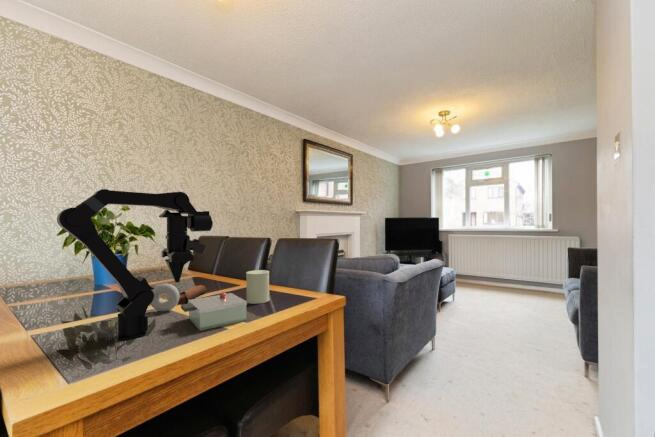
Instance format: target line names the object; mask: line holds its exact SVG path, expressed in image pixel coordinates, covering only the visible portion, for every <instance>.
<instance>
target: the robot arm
mask: <svg viewBox="0 0 655 437" xmlns="http://www.w3.org/2000/svg"><path fill="white" fill-rule="evenodd" d="M107 205H115V206H116V205H117V206H119V205H120V206H139V207H140V206H141V207H153V208H154V207H155V208H159V209H163V210H164V211H163V212H162V213H160V214H159V215H158V217H159V218H160V219H161V218H162V219H163V218H166V235H165V239H166V248H163V249H162V250H161V258H165V257H167V259H164V261H165V263H166V266H167V267H168V269H169V271H170V273H171V276H172V278H173V281H174V282H175V283H180V280H181V276H182V273H183V270H184V266H185V265H186V264H187V263H188V262H194V261H195V260H196V258H195V257H196V256H195V255H196V254H195V253H194V252H196V253H199V254H201V255H204V254H205V251H206V249H207V247H208V245H207V244H204V243H201V240H200V239H196V238H193V239H191V238H190V235H189V234H188V229H189V230H190V232H193V233H194V232H196V233H197V232H210V231H212V229H213V219H212V216H211V214H210V211H209V210H203V211H197V209H195V207H194V205H193V204H192V203H191V201H190V197H189V196H188V195H187V193H186V192H184V191H174V192H173V191H171V192H162V193H149V192H148V193H147V192H136V191H125V190H124V191H122V190H112V189H111V190H110V189H107V188H102V189H100V190H97V191H95V192H94V193H93V194H92V195H91V196H90V197H88V198H87V199H85V200H83V201H82V202H80V203H79V204H78V205H76V206H75V207H69V208H65V209H63V210H61V211H60V212H59V213H58V214H57V216H56V223H57V224H58V226H59V227H60V228H62V229H63V230H64V231H65V232H67V234H69V235H70V236H72V237H73V238H74V239H76V240H77V241H79V242H80V243H82V245H83V246H84V247H85V248H86V249H87V251H88V252H90V254H91V255H93V258H95V259H96V260H97V262H98V263H100V265H101V266H102V268H104V269H105V271H107V273H108V274H109V275H110V276H111V278H112V279H113V280H114V281H115V282H116V283H117V285H118V288H119V289H120V292H121V294H122V296H123V297H122V298H121V299H120V300H119V301H118V302H117V303H116V304H115V308H116V310H117V312H118V313H117V331H116V339H117V341H119V342H120V341H124V340H130V339H133V338H139V337H143V336H144V337H145V336H146V335H147V332H148V316H147V314H146V313H147V311H148V308H149V306H151V303H152V301H153V299H154V293H153V291H152V290H153V289H154V287H152V286H151V285H150V284H149V282H148V281H147V278H146V277H143V276H142V275H138V276H136V277H135V276H134V275H133V274H132V273H131V271H129V269H128V268H127V267H126V265H125V264H124V263H123V262H122V261H121V260H120V259H119V257H118V256H117V255H116V254H115V253H114V252H113V250H112V249H111V248H110V247H109V245H108V244H107V243H106V242H105V241H104V239H103V238H102V237H101V236H100V234H99V232H98V230H97V226H96V225H95V223H94V221H93V219H92V217H94V216H95V215H96V214H97V213H99V212H100V211H101V210H102V209H103V208H105V207H106V206H107ZM171 211H172V212H171ZM175 211H176V212H175Z"/></svg>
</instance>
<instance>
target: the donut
mask: <svg viewBox="0 0 655 437" xmlns="http://www.w3.org/2000/svg"><path fill="white" fill-rule="evenodd" d="M153 288H154V289H153V290H152V291H153V293H154V299H153V301H152V303H151V304H150V307H152V308H153V309H154V310H156V311H158V312H169V311H171V310H172V309H173V310H174V309H175V307H176V306H177V305H178V304H177V303H178V301H179V297H180V296H179V295H180V291H179V289H178V288H177V287H176V286H175V285H173V284H171V283H166V282H165V283H160V284H157V285H156V286H154V287H153ZM162 294H166V295H167V296H168V300H166V301H163V300H162V299H161V296H162Z"/></svg>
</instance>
